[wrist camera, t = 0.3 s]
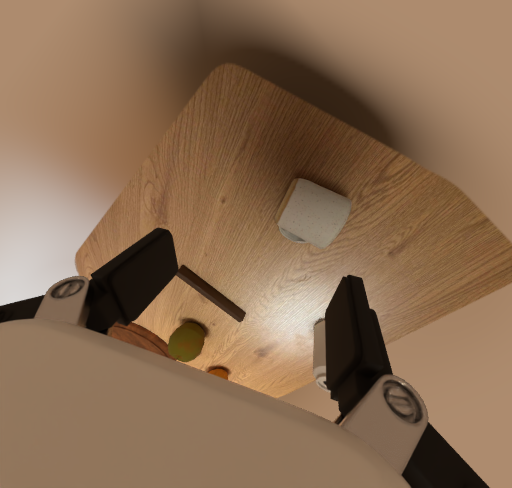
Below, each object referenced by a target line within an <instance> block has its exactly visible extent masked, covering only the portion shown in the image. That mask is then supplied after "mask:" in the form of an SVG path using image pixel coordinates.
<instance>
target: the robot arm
mask: <svg viewBox="0 0 512 488" xmlns="http://www.w3.org/2000/svg"><path fill="white" fill-rule="evenodd" d="M177 272H178V264H177V258H176V253H175V248H174V242H173V237H172V234H171V233H170V231H169V230H166V229H162V228H156V229H155V230H153V231H152V232H150V233H149V234H147V235H146V236H145V237H143V238H142V239H140V240H139V241H138V242H136V243H135V244H133V245H132V246H130V247H129V248H128V249H126V250H125V251H123V252H122V253H121V254H119V255H118V256H116V257H115V258H113V259H112V260H111V261H109V262H108V263H106V264H105V265H104V266H102V267H101V268H99V269H98V270H96V271H95V272H94V273H92V274H91V277H92V279H91V280H90V281H89V280H88V278H86V277H84V276H74V277H70V278H66V279H63V280H61V281H59V282H57V283H56V284H54V285H53V286H52V287H50V288H49V290H48V291H47V292H46V294H45V295H42V296H39V297H35V298H31V299H26V300H22V301H18V302H14V303H10V304H6V305H3V306H0V488H489V486H488V485H487V484H486V483H485V482H484V481H483V480H482V479H481V478H480V477H479V476H478V475H477V474H476V473H475V472H474V471H473V469H472V468H471V467H470V466H469V465H468V464H467V463H466V462H465V461H464V460H463V459H462V458H461V457H460V455H459V454H458V453H457V452H456V451H455V450H454V449H453V448H452V447H451V446H450V445H449V444H448V443H447V442H446V440H445V439H444V438H443V437H442V436H441V435H440V434H439V433H438V432H437V431H436V430H435V429H434V428H433V426H432V425H430V423H429V422H428V412H427V409H426V406H425V404H424V401H423V400H422V398H421V397H420V395H419V394H418V393H417V391H416V390H415V389H414V388H413V387H412V386H411V385H410V384H409V383H407V382H406V381H405V380H403V379H401V378H399V377H397V376H395V375H393V373H392V369H391V366H390V362H389V358H388V355H387V351H386V347H385V344H384V340H383V337H382V333H381V329H380V326H379V322H378V318H377V315H376V312H375V311H374V310H373V309H370V308H369V304H368V300H367V296H366V292H365V288H364V284H363V280H362V278H360V277H356V276H352V275H348V276H347V277H343V278H342V280H341V282H340V284H339V286H338V287H337V289H336V291H335V293H334V295H333V297H332V299H331V301H330V303H329V305H328V307H327V309H326V312H325V347H326V387H327V389H328V390H330V392H331V399H333V400H336V401H338V404H339V411H340V412H341V413H340V415H339V416H338V417H337V418H336V419H335V420H334V422H331V421H329V420H327V419H325V418H323V417H320V416H318V415H316V414H314V413H312V412H309V411H307V410H304V409H302V408H299V407H296V406H294V405H291V404H289V403H286V402H284V401H281V400H279V399H276V398H274V397H271V396H269V395H266V394H263V393H261V392H258V391H255V390H253V389H250V388H247V387H245V386H242V385H239V384H237V383H234V382H231V381H229V380H226V379H223V378H221V377H218V376H215V375H213V374H210V373H207V372H205V371H202V370H199V369H197V368H194V367H191V366H188V365H186V364H183V363H180V362H178V361H175V360H172V359H170V358H167V357H164V356H161V355H159V354H156V353H153V352H151V351H148V350H145V349H142V348H140V347H137V346H134V345H131V344H129V343H126V342H123V341H120V340H118V339H115V338H112V331H113V325H114V324H115V323H116V322H117V323H118V324H121V325H124V326H128V325H129V324H130V323H131V322H132V321H134V320H136V319H137V318H138V317H139V316H140V314H141V313H142V312H143V311H144V310H145V309H146V308H147V307H148V305H149V304H150V303H151V302H152V301H153V300H154V299H155V298H156V296H157V295H158V294H159V293H160V292H161V291H162V290H163V289H164V287H165V286H166V285H167V284H168V283H169V282H170V281H171V280H172V278H173V277H174V276H175V275H176V274H177Z"/></svg>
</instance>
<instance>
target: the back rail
mask: <svg viewBox="0 0 512 488" xmlns="http://www.w3.org/2000/svg"><path fill="white" fill-rule="evenodd" d="M176 276H178V277H179V278H180V279H182V280H183V281H185V282H186V283H187V284H189V285H190V286H191V287H193V288H194V289H195V290H197V291H198V292H199V293H201V294H202V295H203V296H205V297H206V298H207V299H209V300H210V301H211V302H213V303H214V304H215V305H217V306H218V307H219V308H221V309H222V310H223V311H225V312H226V313H227V314H229V315H230V316H231V317H233V318H234V319H236V320H237V321H238V322H241V321H243V319H244V317H245V314H246V312H244V311H243V310H242V309H240V308H239V307H238V306H236V305H235V304H234V303H233V302H231V301H230V300H229V299H227V298H226V297H225V296H223V295H222V294H221V293H219V292H218V291H217V290H216V289H214V288H213V287H212V286H210V285H209V284H208V283H206V282H205V281H204V280H202V279H201V278H200V277H199V276H197V275H196V274H195V273H193V272H192V271H191V270H189V269H188V268H187V267H185V266H184V265H182V266H181V268H180V269H179V270H178V272H177V274H176Z"/></svg>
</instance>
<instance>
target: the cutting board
mask: <svg viewBox="0 0 512 488" xmlns="http://www.w3.org/2000/svg"><path fill="white" fill-rule="evenodd" d="M112 338H115V339H118V340H120V341H123V342H126V343H129V344H131V345H134V346H137V347H140V348H142V349H145V350H148V351H151V352H153V353H156V354H159V355H161V356H164V357H167V358H170V359H172V360H175V361H176V359H175V358H174V357H172V356H171V355H170V354H169V352H168V345H167V344H166V343H165V342H164V341H163V340H162V339H161V338H159V337H158V336H156V335H155V334H154V333H152V332H150V331H149V330H147V329H145V328H143V327H141V326H139V325H137V324H134V323H132V322H131V323H130V324H129V325H128V326H124V325H121V324H118V323H117V322H116V323H115V324H114V325H113V331H112Z"/></svg>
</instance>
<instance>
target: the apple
mask: <svg viewBox="0 0 512 488" xmlns="http://www.w3.org/2000/svg"><path fill="white" fill-rule="evenodd" d="M204 338H205V334H204V331H203V330H202V328H201V327H200V326H199V325H198V324H196V323H184V324H183V325H181V326H180V327H178V328H177V329H176V330H175V331H174V333H173V334H172V335H171V336H170V339H169V343H168V352H169V354H170V355H171V356H172V357H174V358H175V359H176V360H179V361H182V362H189V361H191V360H193V359H195V358H196V357H197V356H198V355H199V354H200V353H201V350H202V348H203V345H204Z"/></svg>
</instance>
